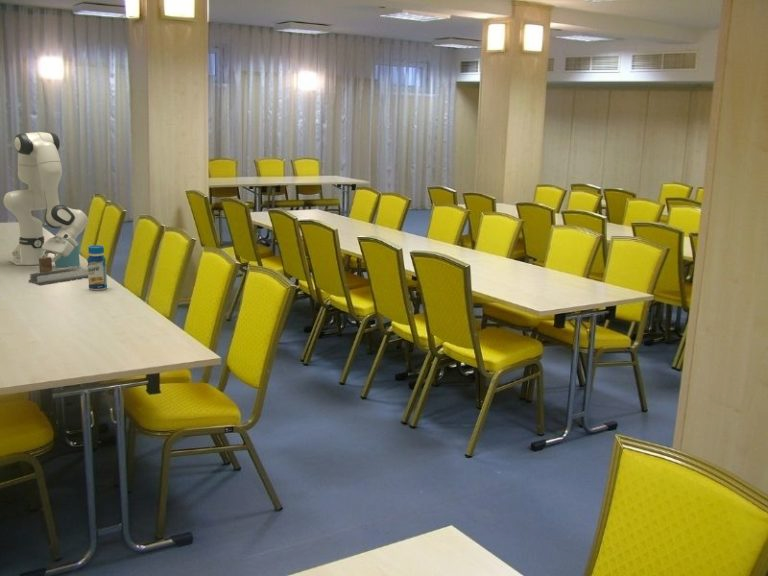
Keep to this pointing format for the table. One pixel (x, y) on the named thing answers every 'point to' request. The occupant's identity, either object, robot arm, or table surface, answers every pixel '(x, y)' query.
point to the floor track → (58, 276)
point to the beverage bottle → (97, 268)
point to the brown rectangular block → (45, 264)
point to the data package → (69, 259)
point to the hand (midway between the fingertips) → (47, 260)
